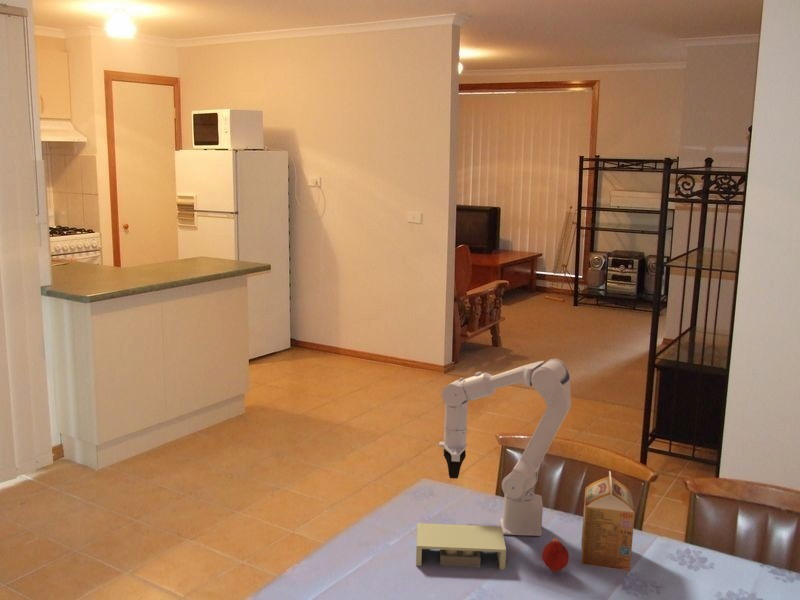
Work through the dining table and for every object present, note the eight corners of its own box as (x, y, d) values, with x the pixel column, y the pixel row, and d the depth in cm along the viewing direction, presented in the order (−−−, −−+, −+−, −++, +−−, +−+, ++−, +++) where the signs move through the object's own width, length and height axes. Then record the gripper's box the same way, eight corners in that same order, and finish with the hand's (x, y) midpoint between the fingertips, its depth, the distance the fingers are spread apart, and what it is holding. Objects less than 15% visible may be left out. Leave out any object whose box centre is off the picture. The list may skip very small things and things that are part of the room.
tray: (477, 544, 183) (477, 532, 183) (480, 568, 173) (480, 556, 172) (439, 542, 184) (440, 531, 183) (440, 566, 173) (440, 554, 172)
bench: (500, 545, 183) (501, 526, 182) (505, 569, 172) (506, 549, 171) (416, 541, 183) (417, 523, 182) (415, 565, 172) (416, 545, 172)
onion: (569, 567, 173) (571, 535, 172) (565, 580, 168) (568, 546, 166) (543, 562, 175) (545, 530, 174) (539, 575, 170) (541, 542, 168)
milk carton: (629, 570, 173) (636, 491, 169) (581, 564, 175) (587, 486, 171) (626, 548, 183) (633, 473, 179) (581, 542, 185) (586, 468, 182)
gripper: (439, 417, 203) (437, 465, 205) (440, 436, 188) (438, 488, 191) (466, 418, 202) (464, 466, 205) (469, 437, 188) (466, 489, 191)
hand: (453, 477), depth 198 cm, fingers closed
